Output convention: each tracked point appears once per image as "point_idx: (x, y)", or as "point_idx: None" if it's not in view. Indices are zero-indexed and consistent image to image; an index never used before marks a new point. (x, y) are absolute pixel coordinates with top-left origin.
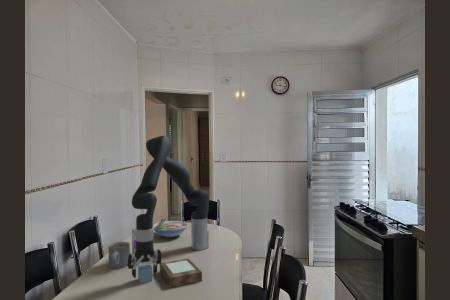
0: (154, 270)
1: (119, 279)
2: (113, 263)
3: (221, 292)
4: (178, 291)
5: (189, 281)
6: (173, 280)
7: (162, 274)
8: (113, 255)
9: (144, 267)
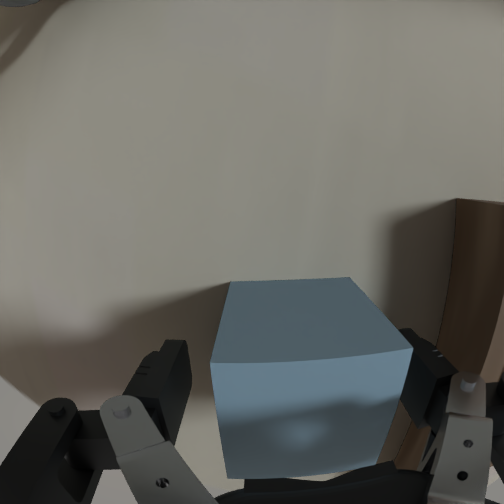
0: (401, 396)
1: (66, 215)
2: (16, 6)
3: None
4: None
5: None
6: None
7: (452, 299)
8: None
9: (294, 450)
